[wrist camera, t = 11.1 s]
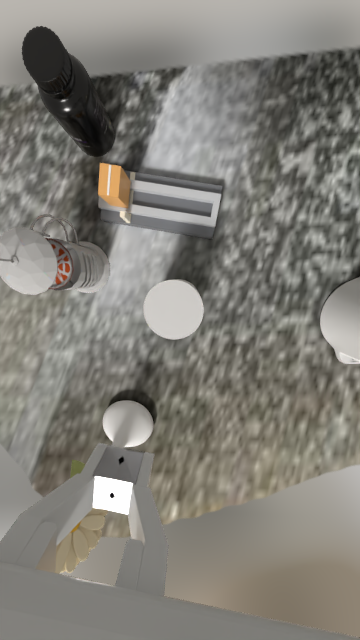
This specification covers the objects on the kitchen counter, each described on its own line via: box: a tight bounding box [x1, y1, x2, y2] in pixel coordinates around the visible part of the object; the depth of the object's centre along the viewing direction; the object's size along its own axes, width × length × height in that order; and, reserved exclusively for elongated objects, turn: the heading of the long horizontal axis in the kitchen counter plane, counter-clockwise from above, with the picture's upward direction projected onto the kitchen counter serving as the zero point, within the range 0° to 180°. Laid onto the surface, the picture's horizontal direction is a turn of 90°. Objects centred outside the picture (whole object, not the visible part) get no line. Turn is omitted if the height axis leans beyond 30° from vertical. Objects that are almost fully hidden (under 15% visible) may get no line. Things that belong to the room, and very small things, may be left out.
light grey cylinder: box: [143, 279, 204, 339], centre depth 31 cm, size 8×8×12 cm
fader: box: [98, 163, 131, 208], centre depth 29 cm, size 3×4×6 cm
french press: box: [0, 214, 110, 295], centre depth 25 cm, size 10×12×25 cm
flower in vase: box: [55, 400, 153, 574], centre depth 31 cm, size 13×11×25 cm
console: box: [98, 170, 222, 239], centre depth 31 cm, size 20×8×5 cm, turn 80°
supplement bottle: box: [22, 26, 114, 157], centre depth 26 cm, size 7×7×12 cm
